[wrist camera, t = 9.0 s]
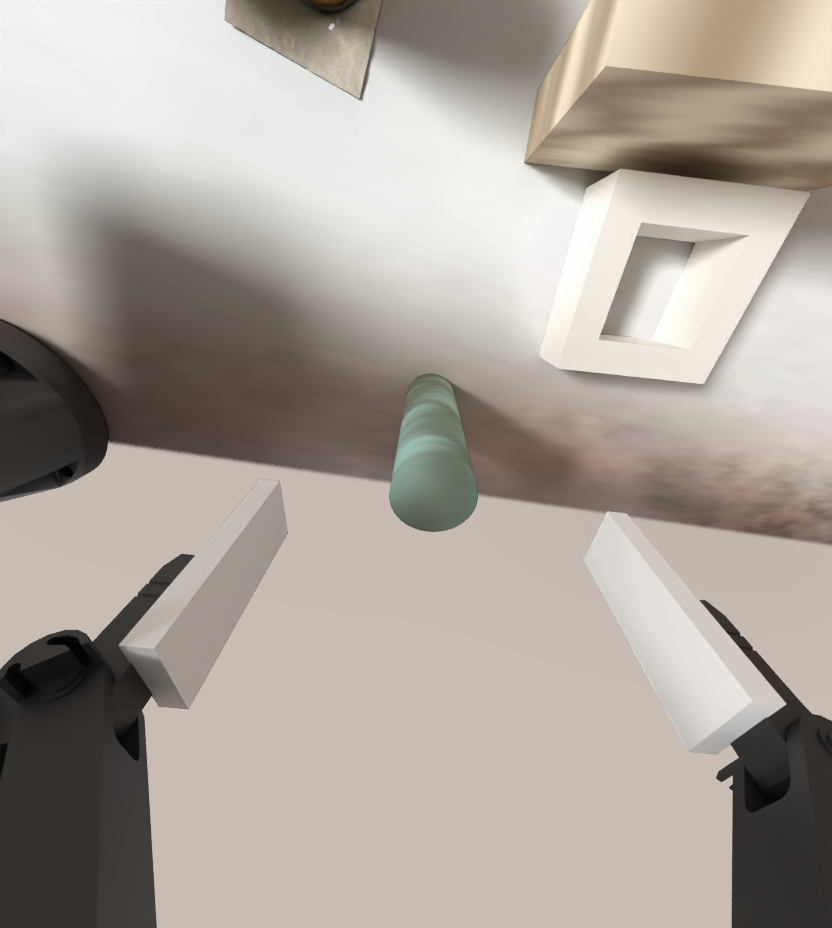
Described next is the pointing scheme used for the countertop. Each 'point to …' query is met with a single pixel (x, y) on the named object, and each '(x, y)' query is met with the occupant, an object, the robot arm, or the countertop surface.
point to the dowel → (432, 460)
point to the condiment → (314, 34)
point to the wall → (693, 92)
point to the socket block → (699, 287)
